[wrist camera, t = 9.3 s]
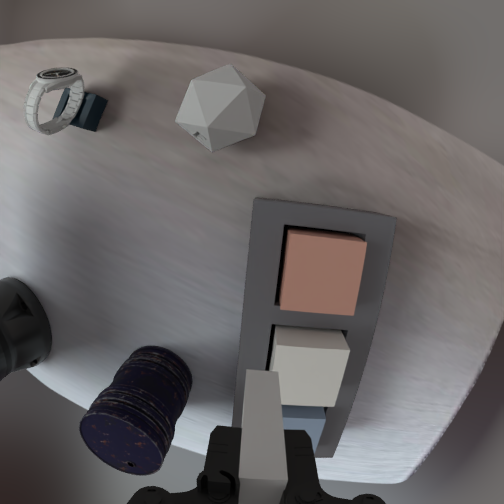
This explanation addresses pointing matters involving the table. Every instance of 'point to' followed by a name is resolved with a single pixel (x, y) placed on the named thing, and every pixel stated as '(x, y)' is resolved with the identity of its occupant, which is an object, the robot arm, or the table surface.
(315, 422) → the slate blue key
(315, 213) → the keypad housing
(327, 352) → the white key
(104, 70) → the table surface
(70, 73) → the watch
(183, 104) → the die
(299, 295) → the terracotta key
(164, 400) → the storage jar
